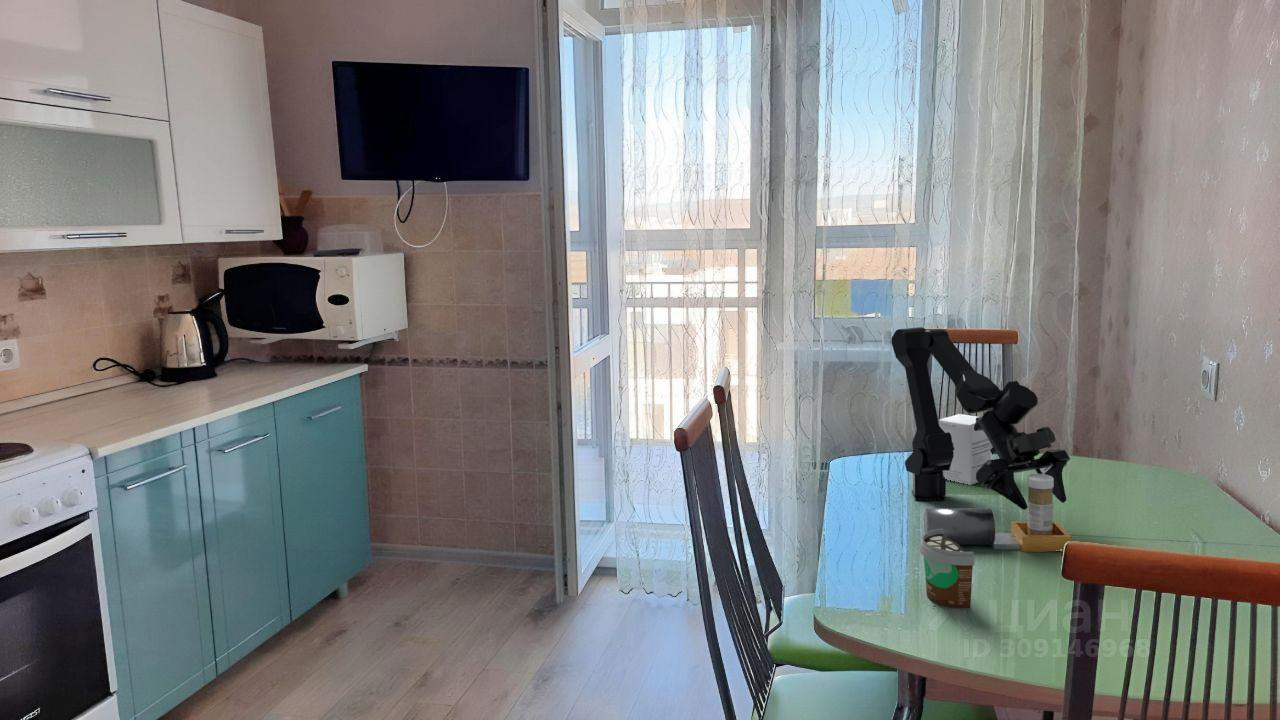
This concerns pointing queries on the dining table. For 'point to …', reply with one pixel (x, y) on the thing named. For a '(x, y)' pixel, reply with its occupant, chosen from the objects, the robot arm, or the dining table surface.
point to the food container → (946, 570)
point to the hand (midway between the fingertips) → (1045, 505)
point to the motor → (990, 530)
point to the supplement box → (965, 448)
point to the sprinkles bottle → (1040, 504)
